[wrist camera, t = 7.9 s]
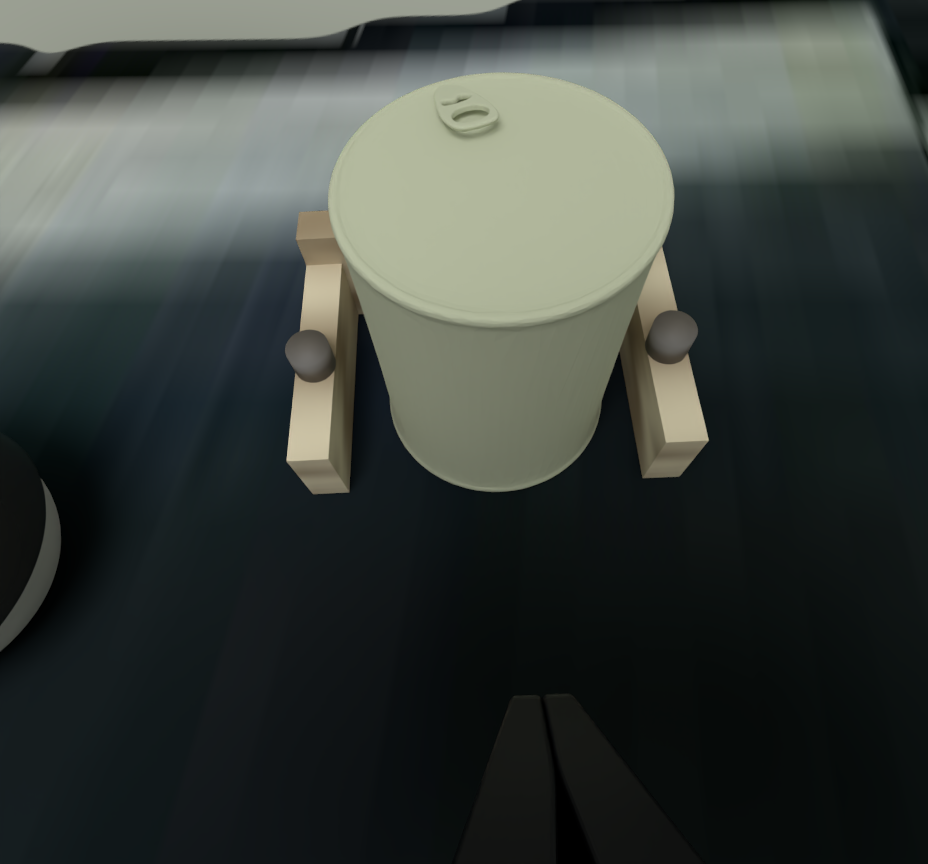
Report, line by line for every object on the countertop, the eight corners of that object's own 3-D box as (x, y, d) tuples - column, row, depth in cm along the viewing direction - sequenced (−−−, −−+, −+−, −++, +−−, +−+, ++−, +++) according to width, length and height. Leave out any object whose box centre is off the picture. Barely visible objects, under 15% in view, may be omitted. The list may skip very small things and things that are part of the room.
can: (545, 285, 28) (581, 21, 17) (639, 446, 24) (759, 235, 14) (364, 347, 27) (282, 106, 16) (432, 526, 23) (384, 366, 12)
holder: (680, 476, 24) (725, 421, 19) (311, 494, 24) (271, 443, 19) (637, 274, 28) (666, 191, 24) (328, 291, 29) (298, 212, 24)
